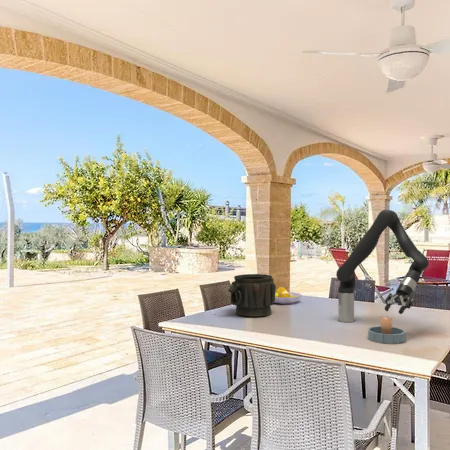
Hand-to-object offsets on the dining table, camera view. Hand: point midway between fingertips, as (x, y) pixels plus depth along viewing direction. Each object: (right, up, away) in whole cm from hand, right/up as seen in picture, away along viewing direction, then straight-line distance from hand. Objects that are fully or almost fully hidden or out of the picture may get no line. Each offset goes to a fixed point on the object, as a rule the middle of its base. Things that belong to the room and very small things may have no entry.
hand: (392, 311), depth 236 cm
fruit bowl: (-44, -13, +104) cm, 114 cm away
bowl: (-4, -14, -3) cm, 14 cm away
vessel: (-68, -14, +64) cm, 95 cm away
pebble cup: (-4, -12, -3) cm, 13 cm away
